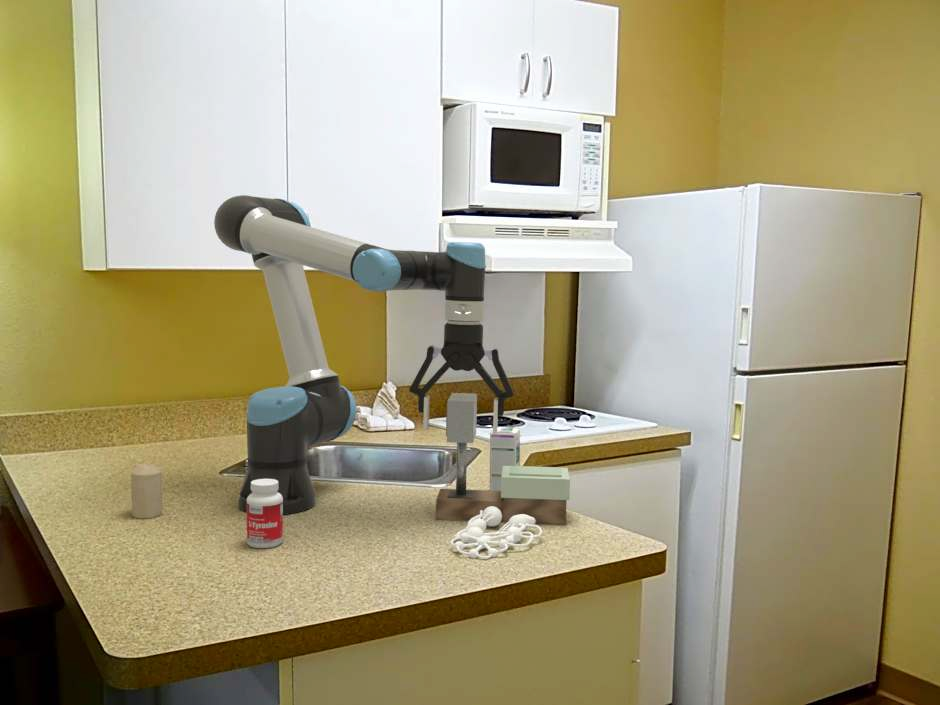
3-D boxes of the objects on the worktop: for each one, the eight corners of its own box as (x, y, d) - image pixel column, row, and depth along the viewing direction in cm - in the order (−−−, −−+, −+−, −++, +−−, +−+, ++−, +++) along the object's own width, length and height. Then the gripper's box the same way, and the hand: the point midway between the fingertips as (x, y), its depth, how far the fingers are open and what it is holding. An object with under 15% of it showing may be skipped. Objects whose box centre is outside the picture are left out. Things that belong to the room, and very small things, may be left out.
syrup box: (515, 500, 178) (517, 432, 176) (488, 498, 179) (489, 430, 177) (519, 493, 183) (521, 427, 182) (493, 491, 184) (494, 425, 183)
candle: (168, 512, 164) (167, 462, 163) (149, 520, 159) (148, 468, 158) (145, 509, 166) (144, 459, 165) (125, 517, 161) (124, 465, 160)
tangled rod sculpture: (504, 574, 138) (506, 551, 137) (430, 552, 145) (431, 529, 144) (551, 538, 155) (553, 517, 154) (482, 520, 162) (484, 499, 161)
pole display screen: (449, 486, 171) (450, 392, 169) (475, 487, 171) (477, 393, 169) (444, 500, 161) (446, 400, 159) (472, 501, 161) (473, 401, 159)
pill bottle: (243, 549, 144) (243, 486, 143) (249, 538, 150) (249, 477, 149) (280, 549, 144) (280, 486, 143) (285, 537, 150) (285, 477, 149)
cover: (500, 497, 161) (501, 475, 160) (502, 485, 170) (502, 463, 170) (569, 500, 160) (569, 477, 159) (567, 487, 169) (567, 465, 169)
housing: (435, 519, 163) (436, 494, 162) (440, 507, 171) (440, 483, 170) (565, 524, 161) (566, 499, 161) (563, 512, 169) (564, 488, 168)
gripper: (396, 321, 160) (394, 431, 162) (528, 326, 158) (523, 437, 160) (402, 318, 167) (400, 423, 169) (528, 323, 165) (524, 429, 168)
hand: (460, 430), depth 165 cm, fingers open, 13 cm apart
